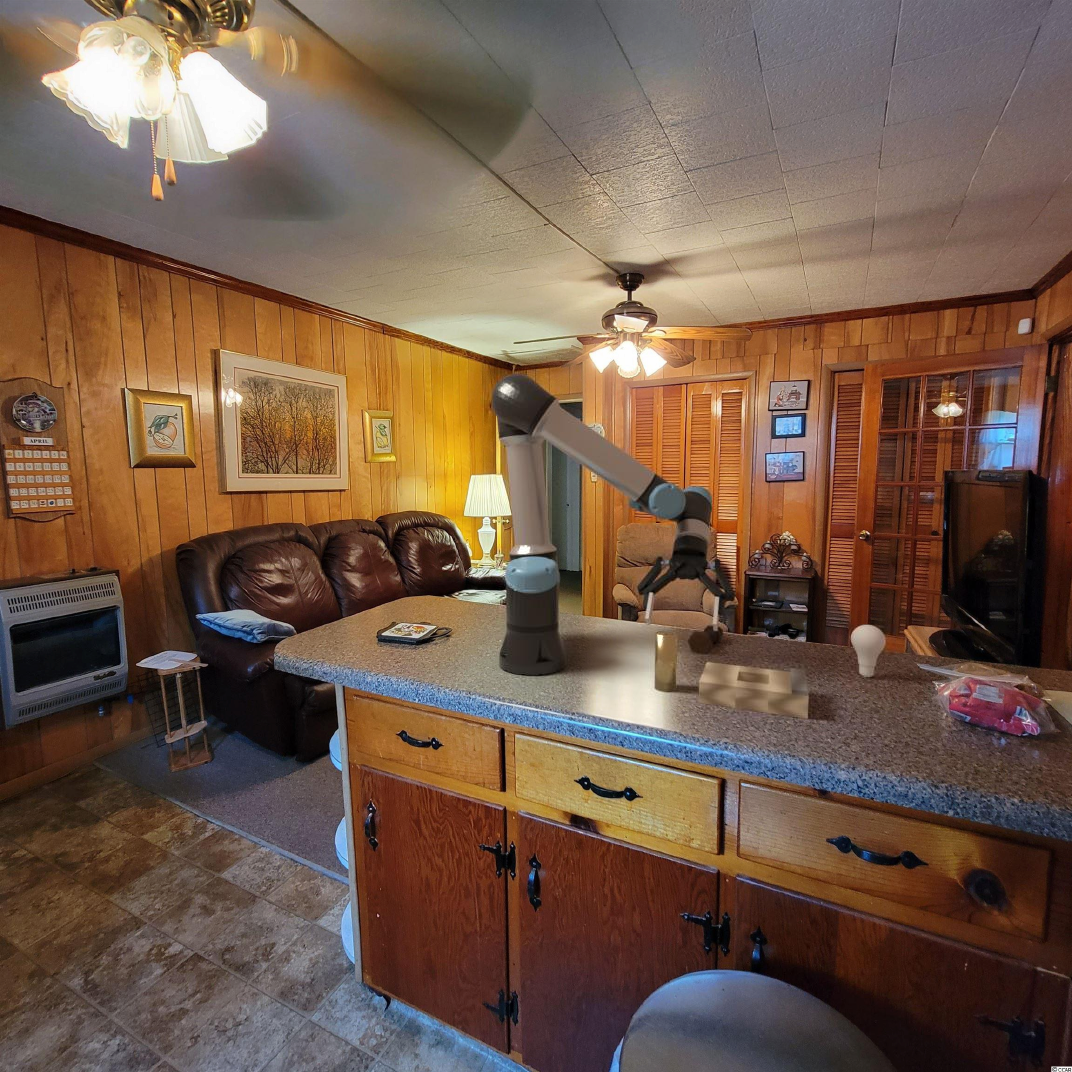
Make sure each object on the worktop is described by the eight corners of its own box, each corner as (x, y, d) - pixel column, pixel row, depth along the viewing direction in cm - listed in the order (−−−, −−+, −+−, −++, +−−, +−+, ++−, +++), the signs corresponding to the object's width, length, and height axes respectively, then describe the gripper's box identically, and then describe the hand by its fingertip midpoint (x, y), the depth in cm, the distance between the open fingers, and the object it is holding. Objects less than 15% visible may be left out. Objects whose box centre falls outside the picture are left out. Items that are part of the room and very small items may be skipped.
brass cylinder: (652, 690, 107) (653, 635, 106) (656, 683, 111) (657, 629, 110) (674, 693, 106) (675, 637, 105) (678, 685, 109) (678, 631, 108)
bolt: (719, 646, 142) (701, 659, 130) (703, 634, 145) (683, 646, 132) (731, 628, 140) (714, 640, 128) (714, 616, 143) (696, 627, 130)
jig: (698, 702, 101) (699, 677, 101) (706, 681, 112) (707, 658, 112) (807, 718, 94) (808, 691, 93) (804, 694, 105) (805, 669, 104)
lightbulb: (854, 670, 118) (856, 620, 117) (887, 677, 114) (890, 625, 112) (845, 677, 114) (847, 625, 113) (878, 685, 109) (881, 630, 108)
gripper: (749, 555, 124) (745, 639, 111) (639, 551, 133) (624, 628, 121) (749, 534, 118) (744, 620, 106) (634, 532, 128) (618, 610, 116)
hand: (680, 624), depth 114 cm, fingers open, 13 cm apart
